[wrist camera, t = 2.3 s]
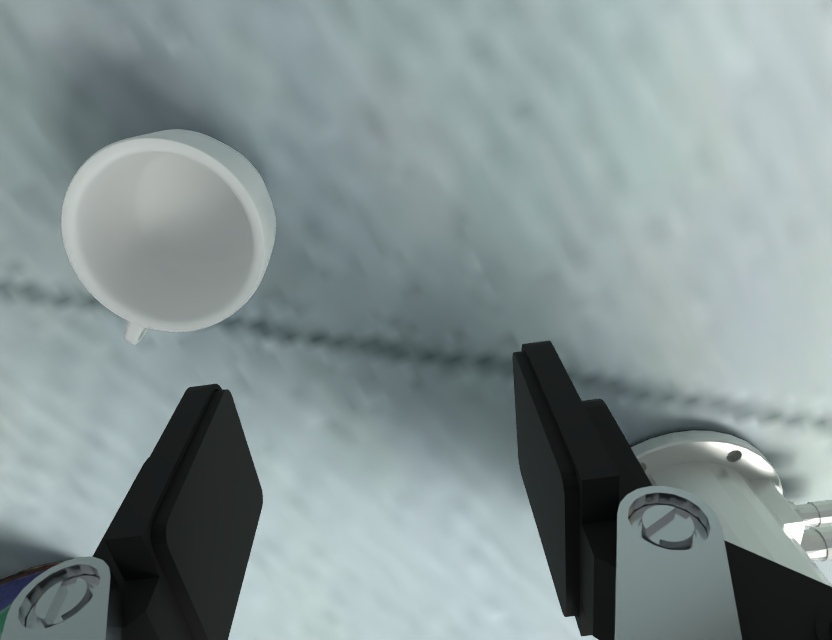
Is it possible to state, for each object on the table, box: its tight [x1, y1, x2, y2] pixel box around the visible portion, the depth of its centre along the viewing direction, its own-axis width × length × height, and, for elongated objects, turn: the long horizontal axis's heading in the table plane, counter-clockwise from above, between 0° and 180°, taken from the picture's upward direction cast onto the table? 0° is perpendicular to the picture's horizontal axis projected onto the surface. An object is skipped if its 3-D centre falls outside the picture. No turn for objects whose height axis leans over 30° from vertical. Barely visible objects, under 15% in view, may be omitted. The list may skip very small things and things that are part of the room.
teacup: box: [61, 129, 276, 344], centre depth 25 cm, size 10×8×5 cm
